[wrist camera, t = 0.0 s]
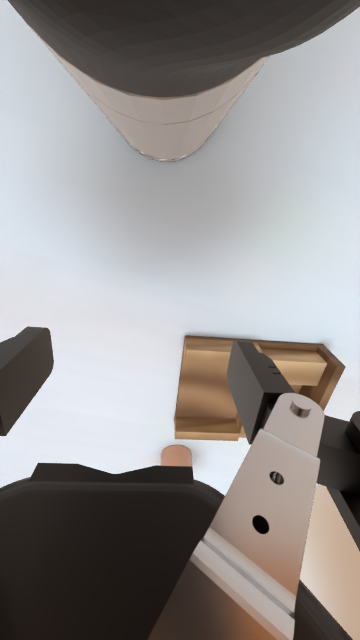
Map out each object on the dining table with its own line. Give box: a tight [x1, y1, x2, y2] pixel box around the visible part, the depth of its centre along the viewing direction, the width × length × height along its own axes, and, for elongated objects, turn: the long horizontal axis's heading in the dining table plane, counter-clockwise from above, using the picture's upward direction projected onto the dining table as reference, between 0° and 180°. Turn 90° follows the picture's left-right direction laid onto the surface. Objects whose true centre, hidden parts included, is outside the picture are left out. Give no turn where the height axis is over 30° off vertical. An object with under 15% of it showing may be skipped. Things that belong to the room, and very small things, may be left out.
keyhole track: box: [174, 336, 345, 441], centre depth 33 cm, size 15×18×5 cm
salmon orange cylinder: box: [161, 445, 193, 469], centre depth 36 cm, size 5×5×12 cm
